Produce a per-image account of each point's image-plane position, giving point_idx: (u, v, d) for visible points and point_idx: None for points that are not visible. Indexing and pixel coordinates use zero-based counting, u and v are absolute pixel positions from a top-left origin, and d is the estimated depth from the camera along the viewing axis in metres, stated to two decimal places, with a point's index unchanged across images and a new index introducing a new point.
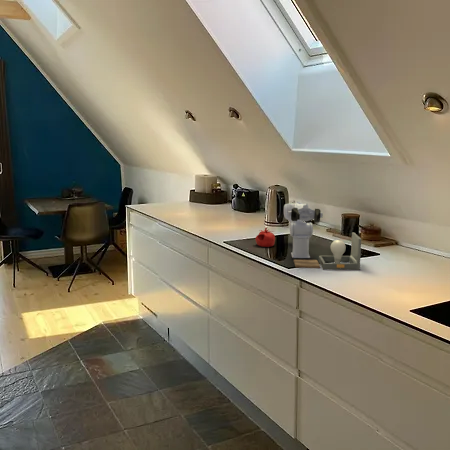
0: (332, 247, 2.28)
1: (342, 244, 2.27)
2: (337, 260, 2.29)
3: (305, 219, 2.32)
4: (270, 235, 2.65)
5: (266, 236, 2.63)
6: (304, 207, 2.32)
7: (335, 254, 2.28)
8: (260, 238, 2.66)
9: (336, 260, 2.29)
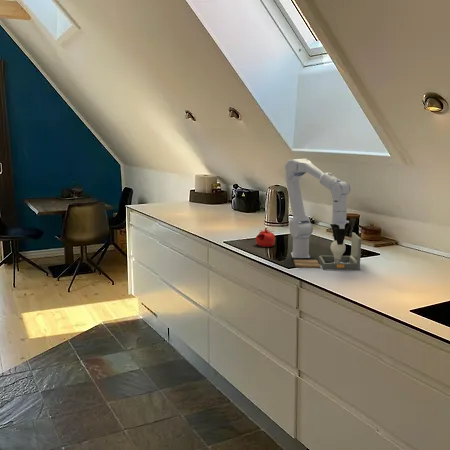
0: (332, 247, 2.28)
1: None
2: (337, 260, 2.29)
3: None
4: (270, 235, 2.65)
5: (266, 236, 2.63)
6: None
7: (335, 254, 2.28)
8: (260, 238, 2.66)
9: (336, 260, 2.29)
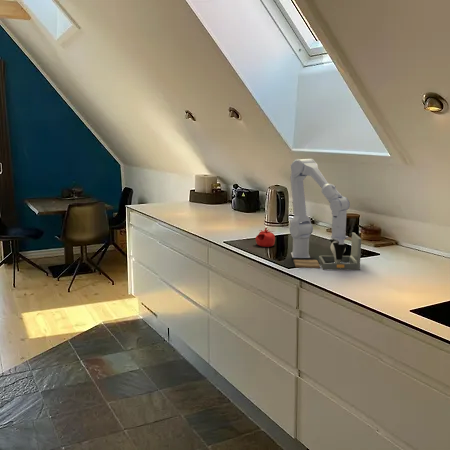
0: (332, 247, 2.28)
1: None
2: (337, 260, 2.29)
3: None
4: (270, 235, 2.65)
5: (266, 236, 2.63)
6: None
7: (335, 254, 2.28)
8: (260, 238, 2.66)
9: (336, 260, 2.29)
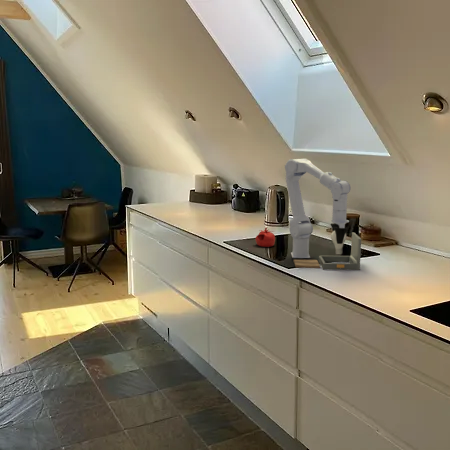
0: (332, 237, 2.27)
1: None
2: (338, 249, 2.29)
3: None
4: (270, 235, 2.65)
5: (266, 236, 2.63)
6: (346, 222, 2.27)
7: (336, 244, 2.28)
8: (260, 238, 2.66)
9: (337, 249, 2.29)
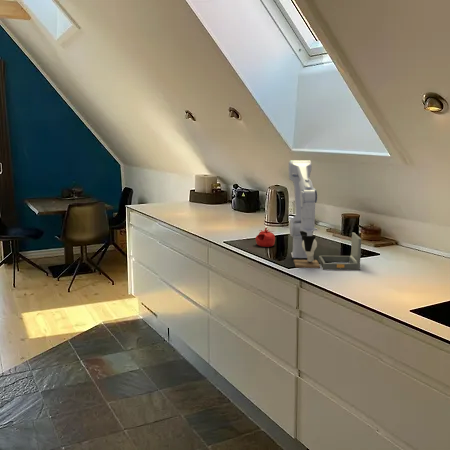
0: (303, 245, 2.28)
1: (313, 241, 2.28)
2: (310, 257, 2.30)
3: None
4: (270, 235, 2.65)
5: (266, 236, 2.63)
6: (314, 230, 2.28)
7: None
8: (260, 238, 2.66)
9: (309, 257, 2.30)
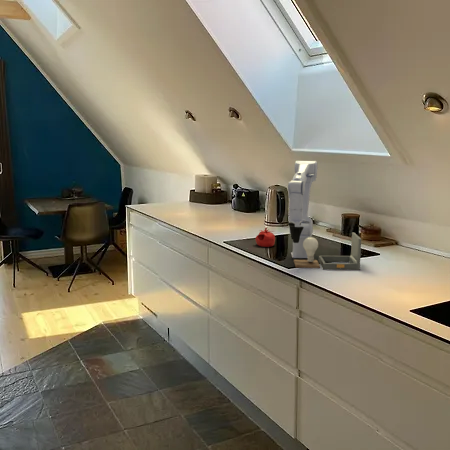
0: (304, 244, 2.29)
1: (314, 241, 2.28)
2: (310, 257, 2.30)
3: None
4: (270, 235, 2.65)
5: (266, 236, 2.63)
6: (302, 221, 2.28)
7: (308, 251, 2.29)
8: (260, 238, 2.66)
9: (309, 257, 2.30)
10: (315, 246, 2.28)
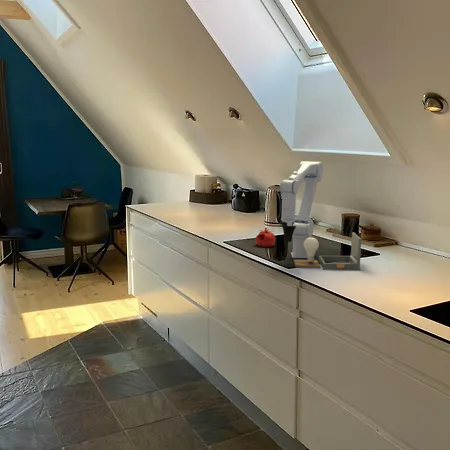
0: (305, 244, 2.29)
1: (315, 241, 2.28)
2: (310, 257, 2.30)
3: None
4: (270, 235, 2.65)
5: (266, 236, 2.63)
6: (295, 220, 2.30)
7: (308, 251, 2.29)
8: (260, 238, 2.66)
9: (309, 257, 2.30)
10: (316, 246, 2.28)
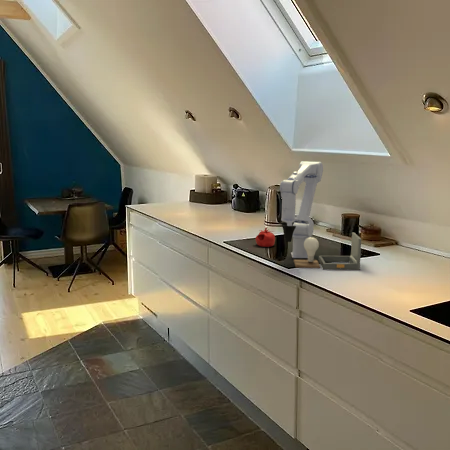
0: (305, 244, 2.29)
1: (315, 241, 2.28)
2: (310, 257, 2.30)
3: None
4: (270, 235, 2.65)
5: (266, 236, 2.63)
6: (295, 220, 2.30)
7: (308, 251, 2.29)
8: (260, 238, 2.66)
9: (309, 257, 2.30)
10: (316, 246, 2.28)
